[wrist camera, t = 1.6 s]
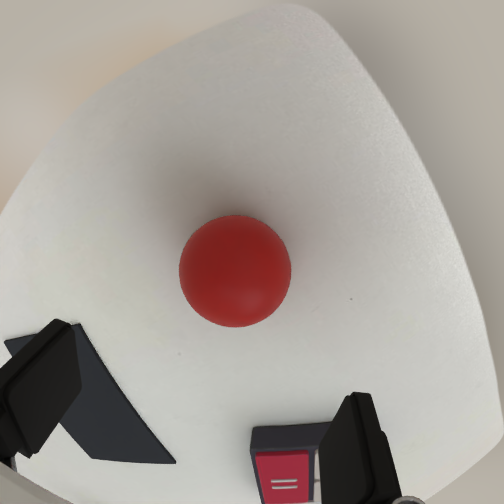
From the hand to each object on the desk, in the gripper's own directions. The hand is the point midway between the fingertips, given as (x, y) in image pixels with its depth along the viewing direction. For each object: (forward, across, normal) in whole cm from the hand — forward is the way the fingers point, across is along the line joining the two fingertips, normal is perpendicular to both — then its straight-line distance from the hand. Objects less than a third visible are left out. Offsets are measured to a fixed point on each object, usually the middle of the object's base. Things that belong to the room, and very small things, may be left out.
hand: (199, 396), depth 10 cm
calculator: (+14, -11, +22) cm, 28 cm away
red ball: (+10, 0, -1) cm, 10 cm away
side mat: (+13, +14, +21) cm, 29 cm away
